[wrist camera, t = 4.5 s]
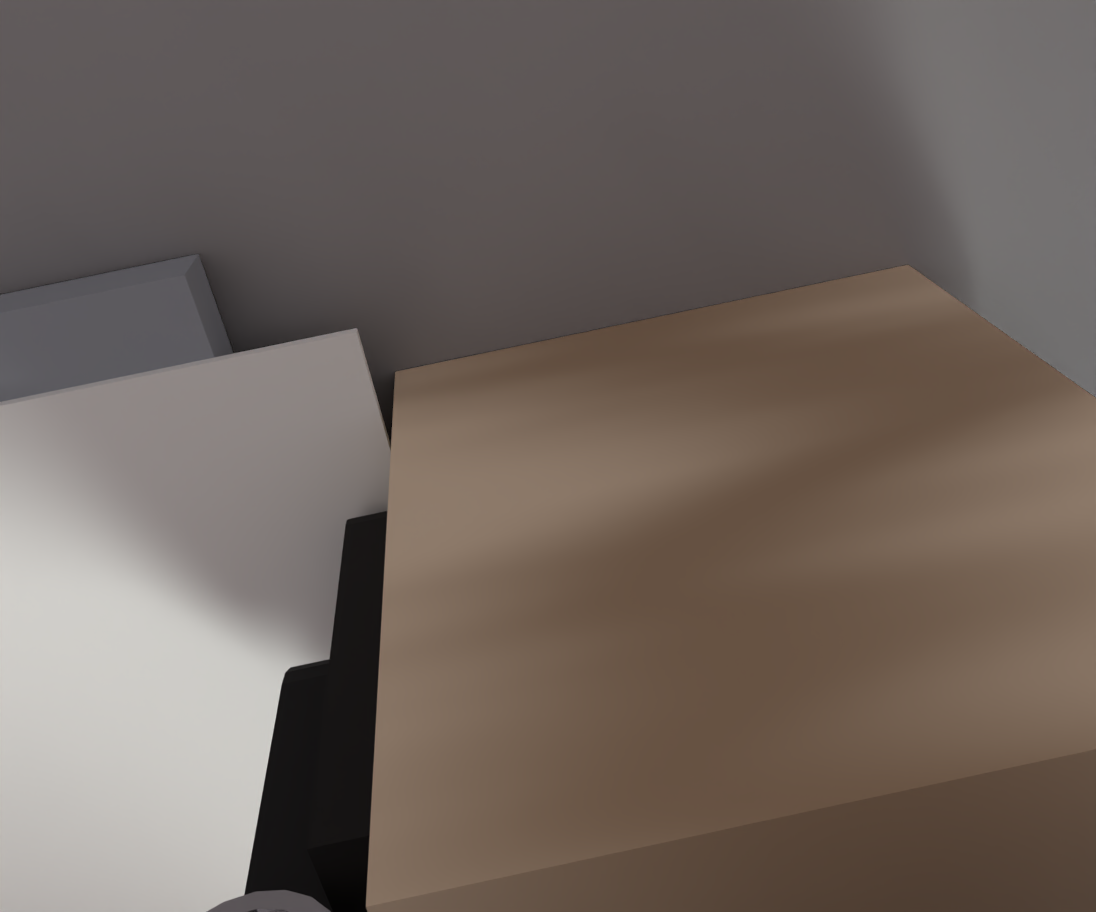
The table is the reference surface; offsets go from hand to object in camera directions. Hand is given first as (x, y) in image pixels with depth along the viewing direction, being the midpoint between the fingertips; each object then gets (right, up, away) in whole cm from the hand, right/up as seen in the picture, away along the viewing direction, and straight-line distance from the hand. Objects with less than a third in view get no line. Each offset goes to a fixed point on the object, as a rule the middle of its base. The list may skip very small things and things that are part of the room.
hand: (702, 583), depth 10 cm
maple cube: (0, 0, +1) cm, 1 cm away
